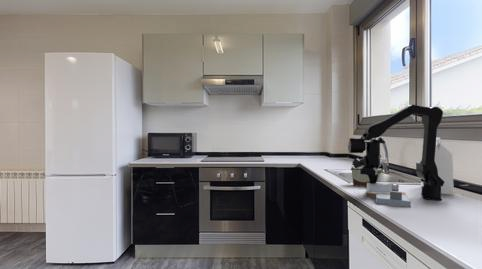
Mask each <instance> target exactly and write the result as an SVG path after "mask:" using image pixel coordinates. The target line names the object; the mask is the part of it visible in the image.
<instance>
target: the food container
mask: <svg viewBox="0 0 482 269" xmlns="http://www.w3.org/2000/svg"><path fill="white" fill-rule="evenodd" d="M363 167H364V166H360V167H357V168H355V167H354V165H352V166H351V168H350V171H351V176H352V186H355V187H364V188H367V183H370V180H369V177H368V175H365V174H360V169H362V168H363Z"/></svg>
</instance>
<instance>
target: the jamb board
mask: <svg viewBox="0 0 482 269" xmlns="http://www.w3.org/2000/svg"><path fill="white" fill-rule="evenodd" d="M401 192H402V195H407V193H406V192H404V191H401ZM365 193H366V194H365V196H366V197H369V198H376V193H385V194H390V192H368V191H367V189H366V191H365Z"/></svg>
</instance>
